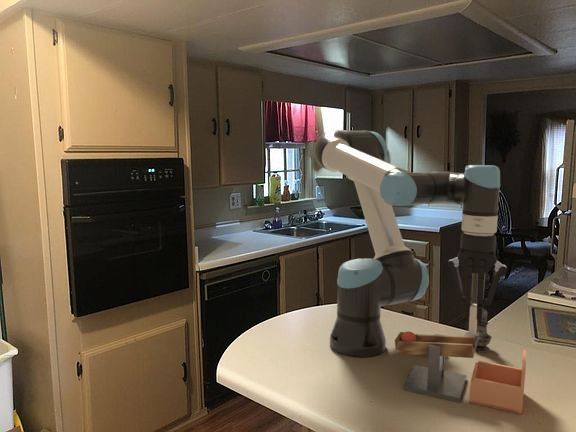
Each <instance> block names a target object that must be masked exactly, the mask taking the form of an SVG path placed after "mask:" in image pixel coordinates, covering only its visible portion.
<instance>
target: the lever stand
mask: <svg viewBox="0 0 576 432" xmlns="http://www.w3.org/2000/svg"><path fill="white" fill-rule="evenodd" d="M434 335H439V334H437V333H436V334H434ZM445 359H446V356H441V346H435V345H429V355H428V363H427V367H426V366H423V365H418V364H414V366H413V368H412V369H411V371H410V373H409V374H408V377H407V378H406V380H405V382H404V384H403V386H402V387H403V388H402V390H403V391H407V392H410V393H415V394H420V395H425V396H429V397H434V398H439V399H443V400H447V401H452V402H456V403H460V402H461V399H462V395H463V392H464V388H465V385H466V381H467V374H461V373H456V372H452V371H447V370H445Z"/></svg>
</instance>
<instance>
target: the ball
mask: <svg viewBox="0 0 576 432" xmlns="http://www.w3.org/2000/svg"><path fill="white" fill-rule="evenodd" d="M403 332H404V333H403V334H402V336H401V341H416V336H415V334H416V333H414V332H412V331H410V330H409V331H403Z"/></svg>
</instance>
